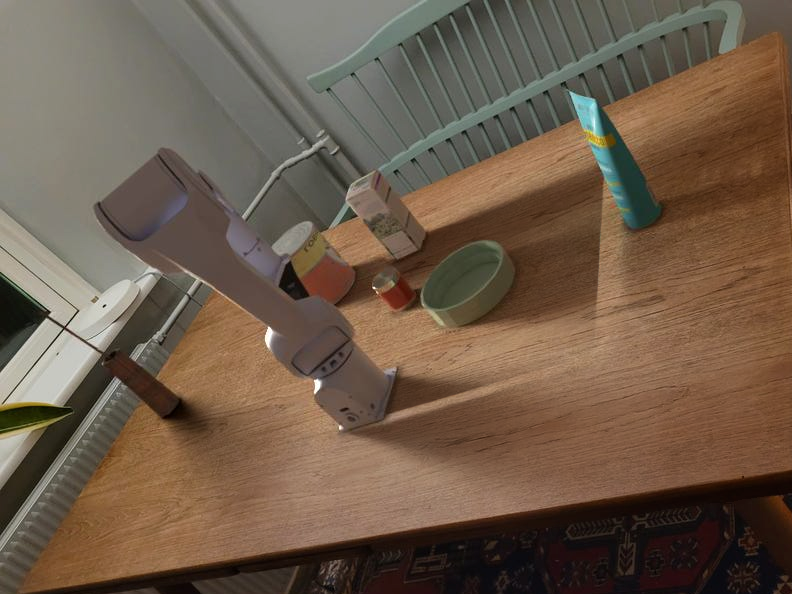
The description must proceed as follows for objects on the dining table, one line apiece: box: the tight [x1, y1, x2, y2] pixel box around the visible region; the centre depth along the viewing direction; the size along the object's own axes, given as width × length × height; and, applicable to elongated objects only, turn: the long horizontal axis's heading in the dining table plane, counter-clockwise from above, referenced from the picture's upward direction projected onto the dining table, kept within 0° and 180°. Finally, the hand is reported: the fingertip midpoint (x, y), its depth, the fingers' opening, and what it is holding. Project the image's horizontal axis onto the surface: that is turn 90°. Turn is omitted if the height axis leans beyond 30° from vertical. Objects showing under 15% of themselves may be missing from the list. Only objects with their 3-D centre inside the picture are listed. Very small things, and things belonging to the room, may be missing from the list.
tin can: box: [371, 266, 417, 313], centre depth 111 cm, size 5×5×6 cm
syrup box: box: [345, 169, 427, 261], centre depth 120 cm, size 6×6×14 cm
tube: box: [566, 88, 662, 230], centre depth 87 cm, size 7×5×19 cm, turn 28°
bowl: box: [420, 239, 516, 328], centre depth 102 cm, size 14×14×4 cm
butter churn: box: [38, 310, 180, 418], centre depth 128 cm, size 9×10×28 cm
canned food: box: [270, 220, 357, 306], centre depth 127 cm, size 11×11×12 cm
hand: (308, 313), depth 107 cm, fingers open, 7 cm apart
